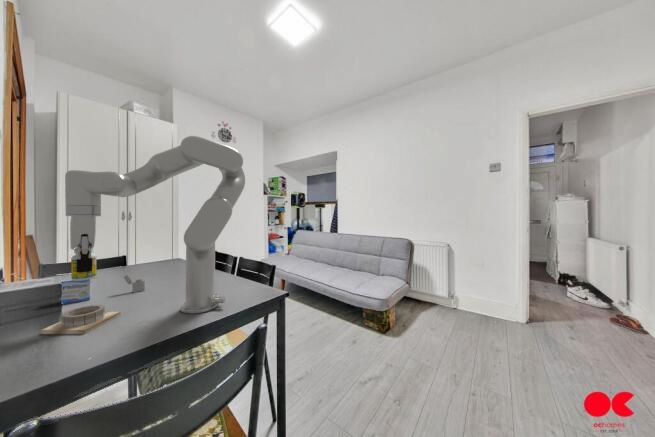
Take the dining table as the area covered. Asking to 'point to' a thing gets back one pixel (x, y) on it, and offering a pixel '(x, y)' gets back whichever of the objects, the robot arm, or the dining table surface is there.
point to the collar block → (81, 320)
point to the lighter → (136, 284)
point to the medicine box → (75, 291)
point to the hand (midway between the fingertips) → (84, 269)
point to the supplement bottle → (82, 275)
